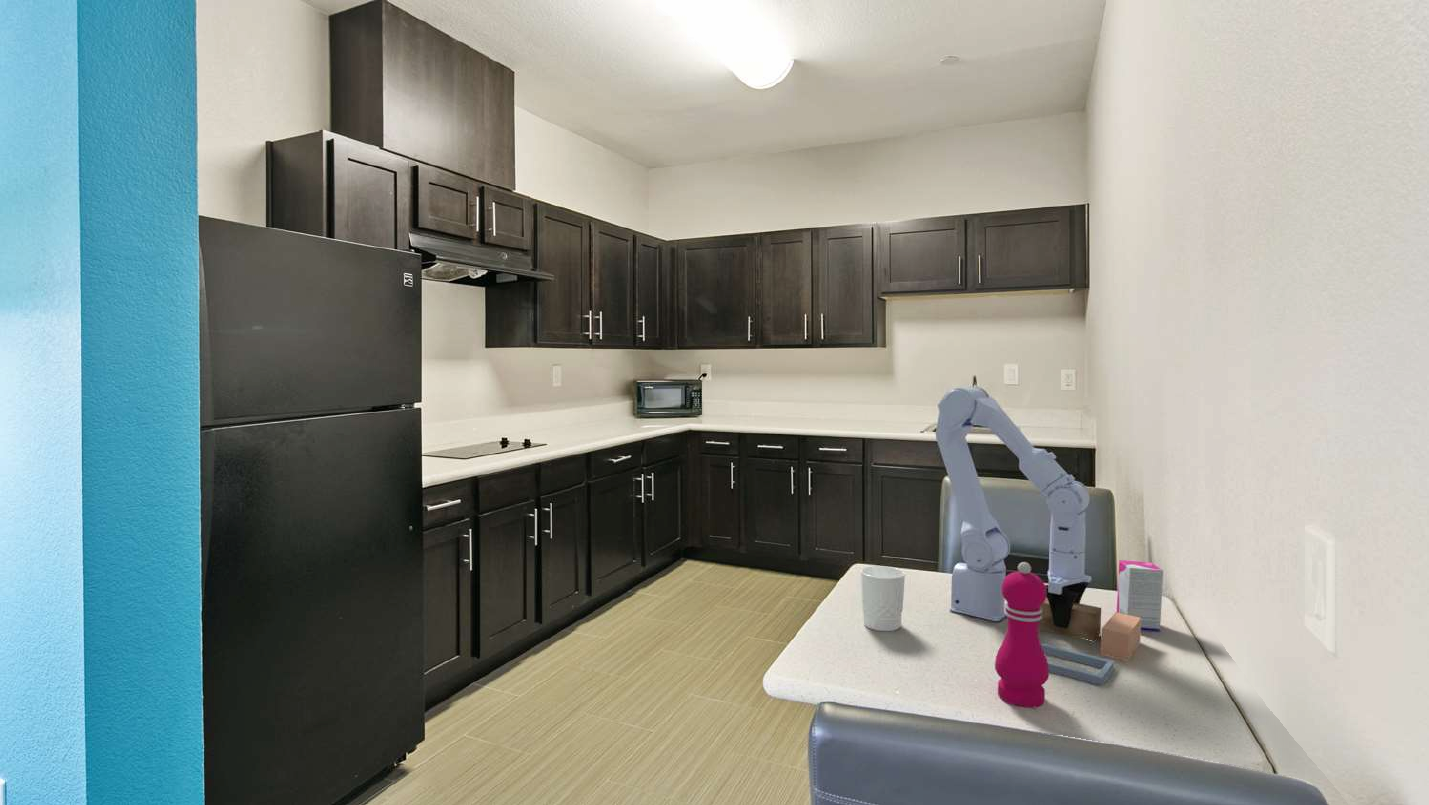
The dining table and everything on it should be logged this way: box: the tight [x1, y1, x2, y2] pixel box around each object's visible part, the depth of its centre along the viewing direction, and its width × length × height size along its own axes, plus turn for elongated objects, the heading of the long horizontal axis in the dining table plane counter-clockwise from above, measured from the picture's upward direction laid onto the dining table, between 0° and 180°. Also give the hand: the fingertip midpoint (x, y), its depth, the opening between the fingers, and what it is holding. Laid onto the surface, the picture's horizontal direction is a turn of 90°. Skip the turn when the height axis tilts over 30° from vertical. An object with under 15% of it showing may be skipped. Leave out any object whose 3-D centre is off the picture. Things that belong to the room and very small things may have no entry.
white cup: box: [860, 565, 906, 632], centre depth 133 cm, size 8×8×10 cm
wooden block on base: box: [1038, 597, 1102, 642], centre depth 130 cm, size 11×4×5 cm, turn 49°
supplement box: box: [1116, 559, 1164, 632], centre depth 133 cm, size 6×6×12 cm
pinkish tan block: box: [1100, 611, 1142, 661], centre depth 122 cm, size 4×10×5 cm, turn 139°
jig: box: [1040, 642, 1115, 686], centre depth 116 cm, size 15×14×1 cm
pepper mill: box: [994, 561, 1050, 708], centre depth 104 cm, size 7×7×20 cm
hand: (1064, 623), depth 130 cm, fingers closed on wooden block on base, 4 cm apart
